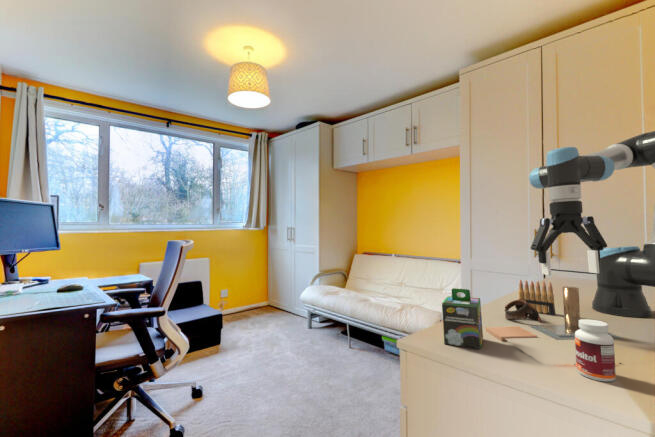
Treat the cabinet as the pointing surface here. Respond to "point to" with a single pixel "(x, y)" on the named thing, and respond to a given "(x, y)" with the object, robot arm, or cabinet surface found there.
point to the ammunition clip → (538, 297)
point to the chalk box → (462, 320)
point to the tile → (509, 332)
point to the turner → (567, 314)
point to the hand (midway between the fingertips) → (570, 273)
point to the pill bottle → (595, 351)
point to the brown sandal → (521, 310)
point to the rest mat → (564, 337)
